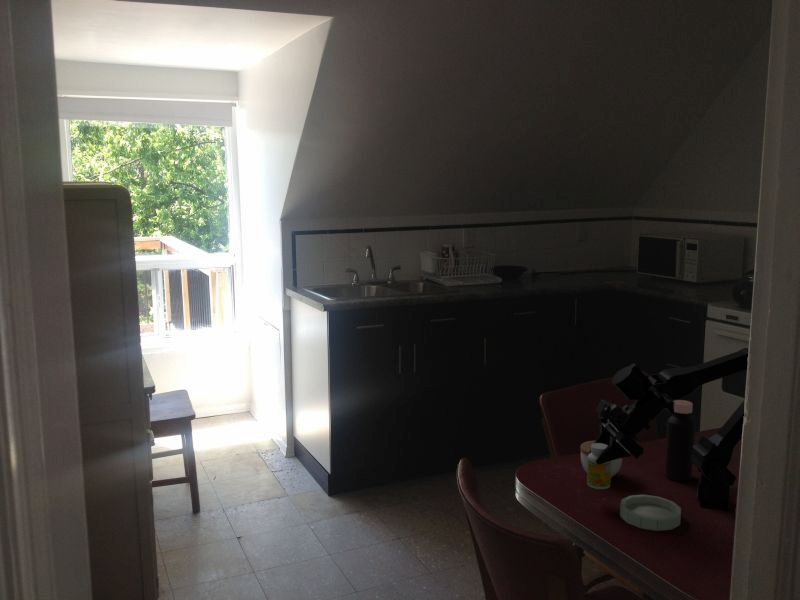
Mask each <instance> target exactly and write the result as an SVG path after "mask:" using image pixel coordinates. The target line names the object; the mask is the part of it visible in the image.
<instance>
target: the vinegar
mask: <svg viewBox="0 0 800 600" xmlns="http://www.w3.org/2000/svg"><path fill="white" fill-rule="evenodd" d="M672 401H673V402H674V414H671V416H670V417H669V418H668V419H667V421H666V422H667V423H666V435H665V436H666V437H665V438H666V439H665V454H664V455H665V457H664V458H665V459H664V476H665V477H666V478H667V479H668V480H672V481H675V482H689V481H690V480H692V479H693V469H694V464H693V462H692V459H691V453H692V451H693V448H692V447H693V446H694V445H695V438H696V421H695V420H694V419H693V418H692V417H691V416H692V414H693V405H694V404H693V402H692V401H689V400H684V399H673V400H672Z"/></svg>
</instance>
